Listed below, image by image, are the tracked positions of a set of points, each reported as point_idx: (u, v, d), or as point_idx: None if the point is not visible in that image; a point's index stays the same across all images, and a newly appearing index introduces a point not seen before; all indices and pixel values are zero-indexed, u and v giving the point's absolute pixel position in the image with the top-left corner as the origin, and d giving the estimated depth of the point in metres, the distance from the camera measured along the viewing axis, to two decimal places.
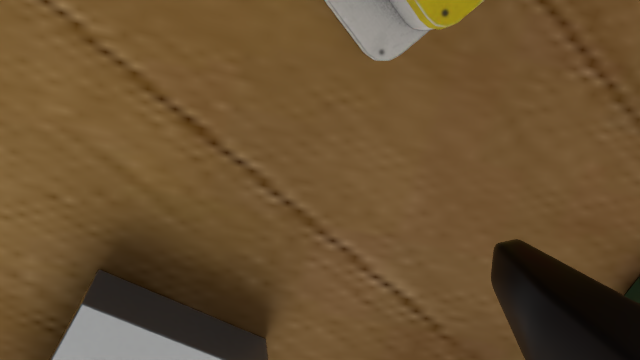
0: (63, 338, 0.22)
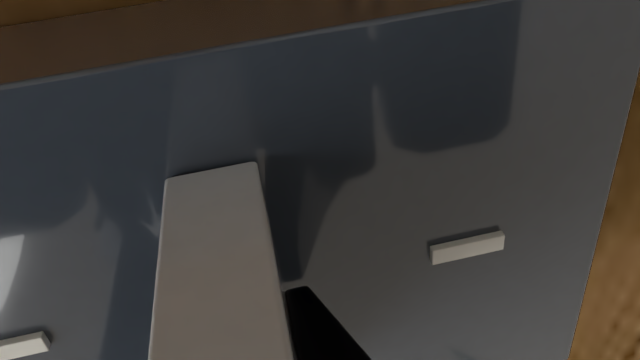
0: None
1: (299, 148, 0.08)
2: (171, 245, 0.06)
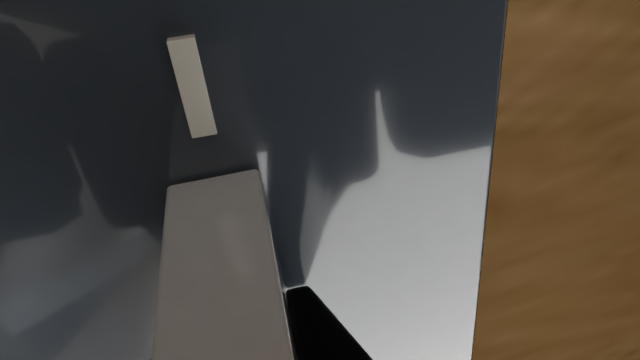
0: None
1: (61, 276, 0.08)
2: (174, 254, 0.06)
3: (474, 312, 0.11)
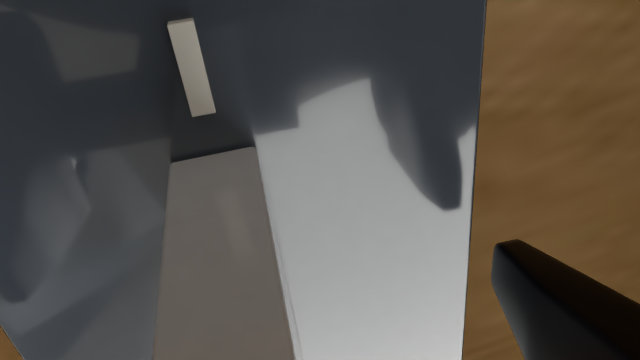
0: None
1: (70, 251, 0.09)
2: (176, 221, 0.07)
3: (465, 286, 0.11)
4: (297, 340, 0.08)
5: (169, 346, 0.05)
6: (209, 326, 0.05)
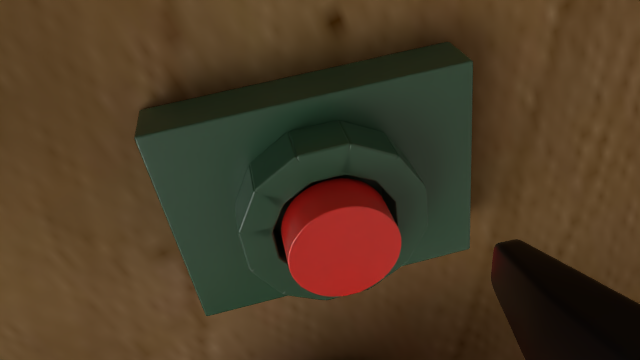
0: None
1: None
2: None
3: None
4: None
5: None
6: None
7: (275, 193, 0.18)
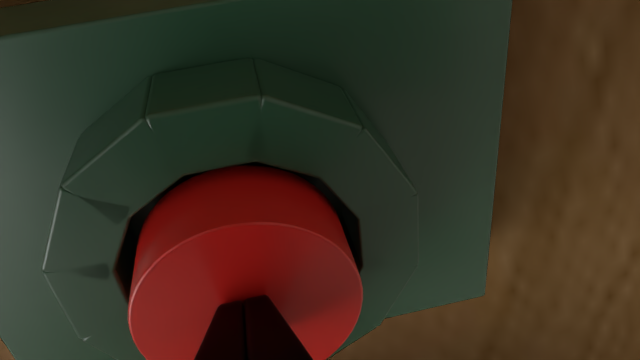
0: None
1: None
2: None
3: None
4: None
5: None
6: None
7: (108, 195, 0.09)
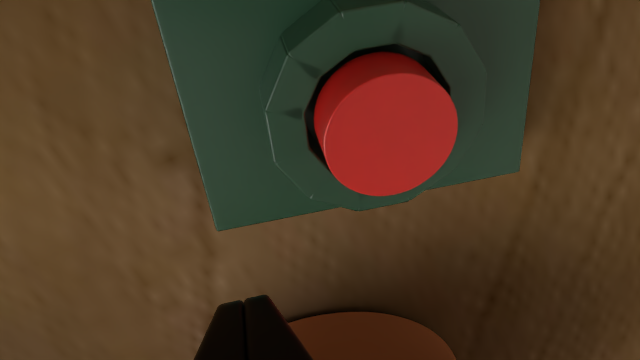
0: None
1: None
2: None
3: None
4: None
5: None
6: None
7: (312, 60, 0.15)
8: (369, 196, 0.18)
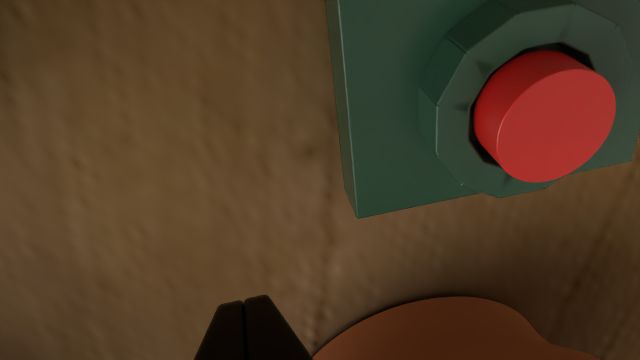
0: None
1: None
2: None
3: None
4: None
5: None
6: None
7: (486, 58, 0.16)
8: (512, 183, 0.19)
